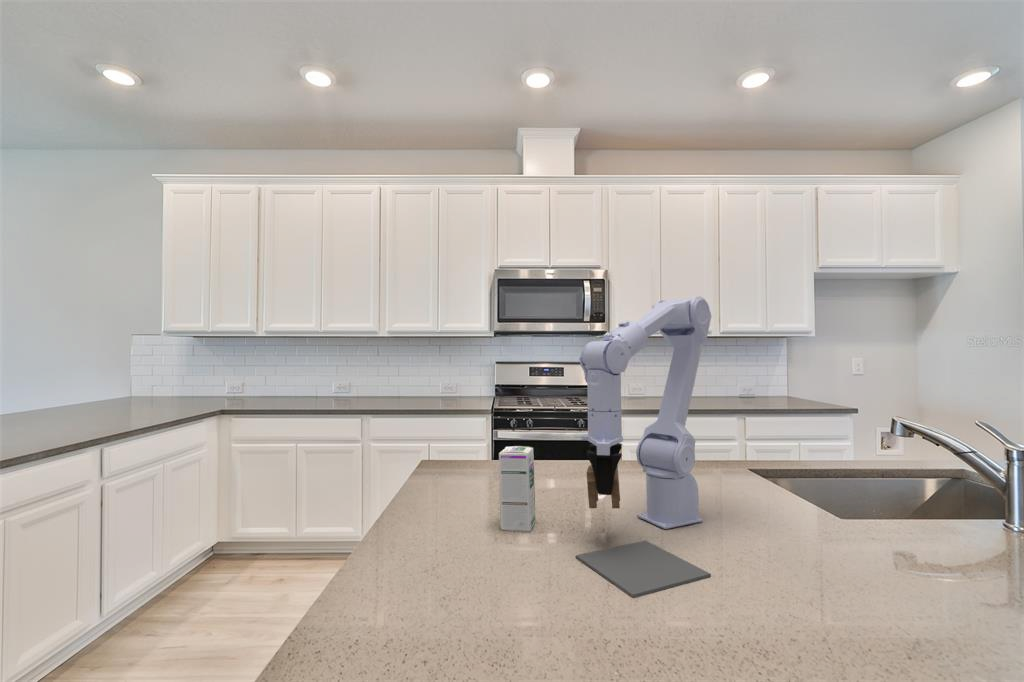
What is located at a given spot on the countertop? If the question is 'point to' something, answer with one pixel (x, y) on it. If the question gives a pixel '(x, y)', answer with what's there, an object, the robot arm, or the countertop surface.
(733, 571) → the countertop surface
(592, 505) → the notched brown block
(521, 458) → the syrup box
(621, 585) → the mat
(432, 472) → the countertop surface
